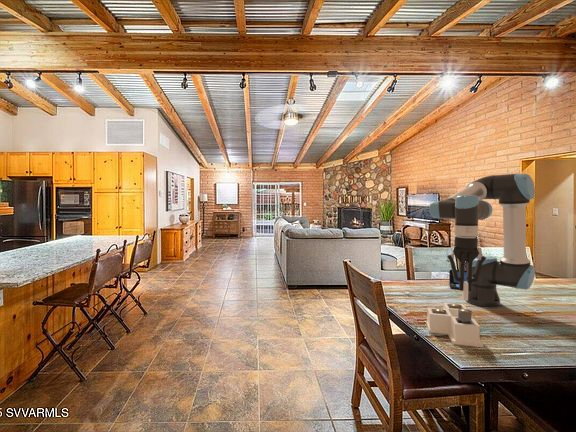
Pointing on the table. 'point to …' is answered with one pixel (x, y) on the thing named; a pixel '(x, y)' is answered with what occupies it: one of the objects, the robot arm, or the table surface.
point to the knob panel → (454, 326)
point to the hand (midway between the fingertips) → (464, 299)
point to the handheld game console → (453, 282)
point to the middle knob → (438, 311)
